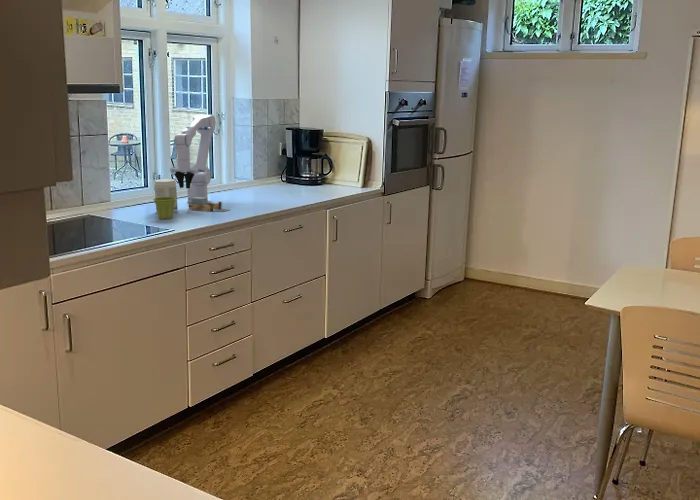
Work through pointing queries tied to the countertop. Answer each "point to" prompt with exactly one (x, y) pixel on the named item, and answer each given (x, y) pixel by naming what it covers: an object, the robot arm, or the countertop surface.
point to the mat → (221, 210)
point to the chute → (205, 206)
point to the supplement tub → (166, 190)
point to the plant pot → (165, 207)
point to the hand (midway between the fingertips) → (184, 188)
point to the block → (199, 200)
